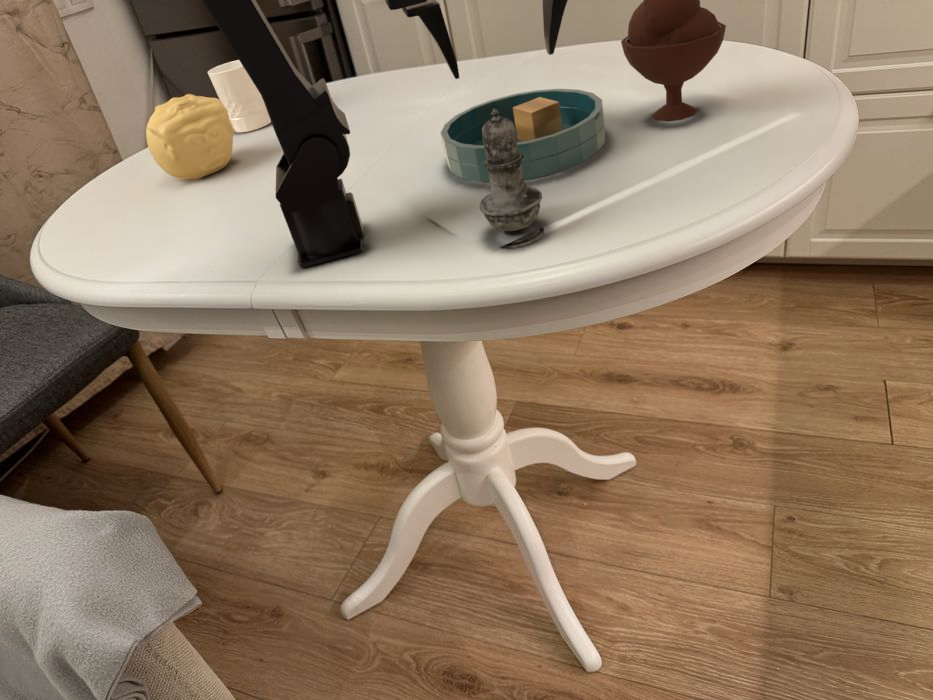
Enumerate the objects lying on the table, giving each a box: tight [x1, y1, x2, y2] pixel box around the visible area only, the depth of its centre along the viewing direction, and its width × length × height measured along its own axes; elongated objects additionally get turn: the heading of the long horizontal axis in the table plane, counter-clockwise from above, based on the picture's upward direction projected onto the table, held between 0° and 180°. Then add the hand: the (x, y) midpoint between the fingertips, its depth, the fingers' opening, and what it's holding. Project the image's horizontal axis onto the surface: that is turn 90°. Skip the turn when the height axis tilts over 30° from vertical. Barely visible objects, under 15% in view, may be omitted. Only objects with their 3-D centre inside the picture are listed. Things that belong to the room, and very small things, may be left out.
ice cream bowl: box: [620, 0, 727, 123], centre depth 77 cm, size 11×11×15 cm
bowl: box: [440, 88, 606, 184], centre depth 81 cm, size 19×19×4 cm
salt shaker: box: [478, 108, 545, 250], centre depth 62 cm, size 6×6×12 cm
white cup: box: [207, 59, 272, 133], centre depth 116 cm, size 8×8×10 cm
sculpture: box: [145, 93, 235, 180], centre depth 100 cm, size 12×12×11 cm
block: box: [513, 97, 562, 142], centre depth 83 cm, size 4×4×4 cm
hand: (503, 65), depth 65 cm, fingers open, 9 cm apart
